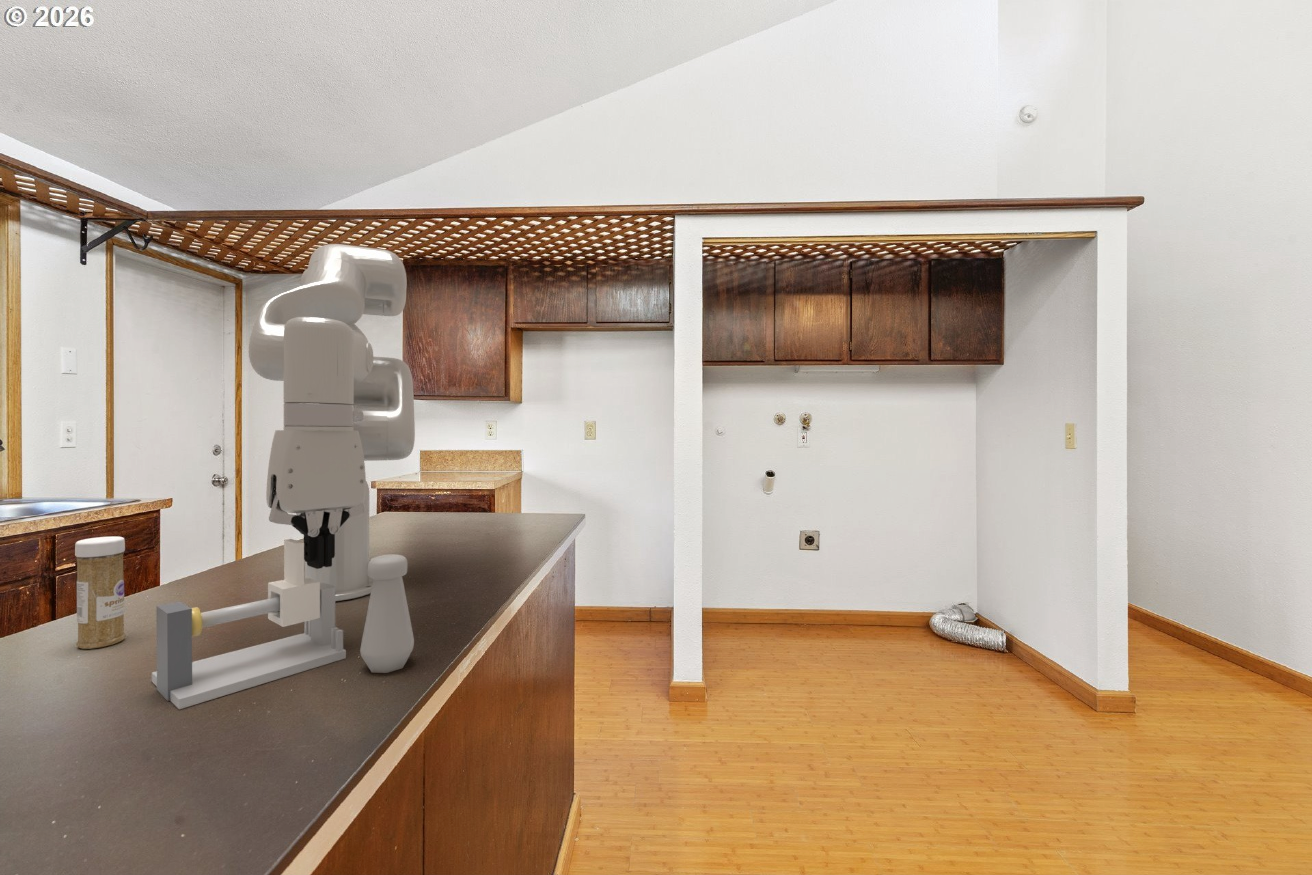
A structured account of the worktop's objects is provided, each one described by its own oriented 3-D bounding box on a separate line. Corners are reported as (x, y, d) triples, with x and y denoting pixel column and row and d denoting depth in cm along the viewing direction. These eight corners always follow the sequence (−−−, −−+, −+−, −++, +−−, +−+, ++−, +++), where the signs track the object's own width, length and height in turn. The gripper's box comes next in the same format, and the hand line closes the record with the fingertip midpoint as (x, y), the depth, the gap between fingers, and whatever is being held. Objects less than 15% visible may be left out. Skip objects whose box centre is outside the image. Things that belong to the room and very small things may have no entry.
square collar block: (304, 610, 72) (304, 536, 72) (319, 617, 70) (319, 541, 69) (268, 618, 69) (267, 541, 69) (282, 626, 66) (282, 546, 66)
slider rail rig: (312, 638, 76) (312, 570, 76) (348, 657, 70) (348, 583, 70) (149, 682, 62) (148, 600, 62) (176, 710, 56) (176, 619, 56)
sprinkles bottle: (121, 645, 73) (120, 539, 72) (70, 652, 70) (69, 543, 70) (129, 634, 76) (128, 534, 76) (81, 640, 74) (80, 537, 74)
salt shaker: (362, 659, 69) (362, 552, 69) (413, 652, 71) (414, 549, 71) (358, 679, 64) (358, 563, 63) (414, 671, 66) (414, 559, 66)
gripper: (364, 420, 79) (364, 552, 80) (237, 418, 67) (237, 573, 68) (393, 420, 75) (393, 559, 75) (262, 417, 63) (262, 584, 63)
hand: (319, 565), depth 71 cm, fingers closed
